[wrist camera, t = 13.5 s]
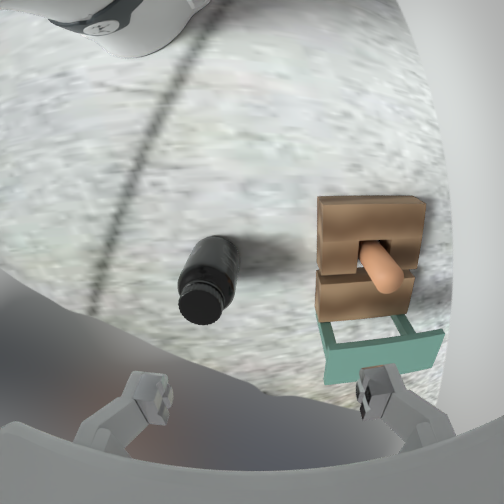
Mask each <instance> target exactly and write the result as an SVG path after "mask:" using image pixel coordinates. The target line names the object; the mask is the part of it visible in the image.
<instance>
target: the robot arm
mask: <svg viewBox="0 0 504 504" xmlns="http://www.w3.org/2000/svg"><path fill="white" fill-rule="evenodd" d="M210 1H211V0H0V10H12V11H18V12H23V13H28V14H33V15H37V16H41V17H44V18H48V20H49V21H50V22H51V23H53V24H55V25H57V26H60V27H62V28H65V29H67V30H70V31H73V32H76V33H80V34H81V35H82V36H83V37H85V38H87V39H91V40H93V41H95V42H96V43H97V44H98V45H99V46H100V47H101V48H102V49H103V50H105V51H106V52H107V53H109V54H111V55H113V56H116V57H120V58H136V57H141V56H145V55H148V54H150V53H153V52H155V51H157V50H159V49H161V48H162V47H164V46H165V45H167V44H168V43H169V42H171V41H172V40H173V39H174V38H175V37H176V36H177V35H178V34H179V33H180V32H181V31H182V30H183V28H184V27H185V25H186V24H187V22H188V21H189V19H190V18H191V17H192V16H193V14H194V13H196V12H197V11H199V10H200V9H202V8H203V7H205V6H206V5H207V4H208V3H209V2H210ZM359 376H360V379H359V380H357V383H356V397H357V401H358V402H359V403H361V406H360V413H361V417H362V420H363V421H366V420H373V419H379V418H381V419H382V420H383V422H385V423H386V424H387V425H388V426H389V427H390V428H391V429H392V430H393V431H394V432H395V433H396V434H397V435H398V436H399V437H400V438H401V439H402V440H403V441H405V442H406V443H405V444H404V446H403V447H402V449H401V450H400V452H399V453H398V454H396V455H392V456H388V457H383V458H379V459H374V460H369V461H364V462H358V463H352V464H346V465H339V466H332V467H323V468H314V469H304V470H303V469H302V470H289V471H223V470H207V469H197V468H187V467H178V466H172V465H164V464H158V463H153V462H147V461H141V460H137V459H132V458H131V457H130V455H129V454H128V453H127V452H126V450H125V449H124V448H125V447H126V446H127V445H128V444H129V443H130V442H131V441H132V440H133V439H134V438H135V437H136V436H137V435H138V434H139V433H140V432H142V430H143V429H145V428H146V427H147V426H148V424H158V425H166V424H167V420H168V417H169V412H168V410H167V409H168V408H170V407H171V406H172V402H173V390H172V388H171V386H170V385H169V384H168V377H167V375H166V374H159V373H149V372H140V371H133V372H132V373H131V375H130V378H129V380H128V382H127V384H126V386H125V389H124V391H123V393H122V396H121V397H117V398H116V399H115V400H113V401H112V402H110V403H109V404H107V405H106V406H105V407H103V408H102V409H100V410H99V411H97V412H96V413H95V414H93V415H92V416H90V417H89V418H88V419H86V420H85V421H83V422H82V423H81V426H80V428H79V430H78V432H77V434H76V436H75V438H74V441H73V443H72V442H69V441H67V440H64V439H61V438H58V437H55V436H53V435H50V434H47V433H45V432H42V431H40V430H37V429H35V428H33V427H30V426H28V425H26V424H23V423H21V422H18V421H14V422H11V423H9V424H7V425H5V426H3V427H1V428H0V504H504V415H503V416H501V417H499V418H497V419H495V420H493V421H491V422H489V423H486V424H484V425H482V426H480V427H477V428H475V429H473V430H470V431H468V432H465V433H463V434H460V435H457V436H456V434H455V432H454V430H453V427H452V425H451V423H450V420H449V418H448V416H447V414H445V413H444V412H442V411H441V410H439V409H437V408H436V407H435V406H433V405H432V404H430V403H429V402H427V401H426V400H424V399H423V398H421V397H420V396H418V395H417V394H415V393H414V392H413V391H411V390H406V387H405V385H404V382H403V380H402V378H401V375H400V373H399V371H398V369H397V366H396V364H394V363H391V364H385V365H378V366H371V367H365V368H361V369H360V371H359Z"/></svg>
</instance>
